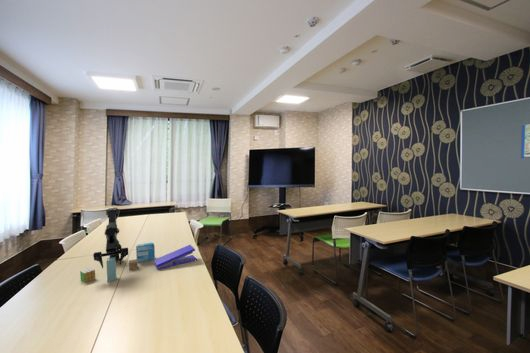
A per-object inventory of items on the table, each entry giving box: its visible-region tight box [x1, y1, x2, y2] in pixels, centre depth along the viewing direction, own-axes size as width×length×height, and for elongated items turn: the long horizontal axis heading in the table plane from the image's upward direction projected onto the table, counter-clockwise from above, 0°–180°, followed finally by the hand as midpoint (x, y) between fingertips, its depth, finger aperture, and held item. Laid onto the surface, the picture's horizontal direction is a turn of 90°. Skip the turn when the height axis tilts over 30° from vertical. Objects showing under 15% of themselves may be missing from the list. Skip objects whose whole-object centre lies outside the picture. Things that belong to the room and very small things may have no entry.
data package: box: [135, 242, 156, 263], centre depth 180 cm, size 12×4×12 cm, turn 120°
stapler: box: [153, 244, 198, 271], centre depth 175 cm, size 12×28×10 cm, turn 125°
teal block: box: [106, 257, 117, 282], centre depth 150 cm, size 4×4×13 cm
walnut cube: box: [128, 258, 139, 271], centre depth 166 cm, size 5×5×5 cm
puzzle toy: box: [79, 267, 96, 283], centre depth 150 cm, size 6×6×6 cm
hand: (111, 266), depth 150 cm, fingers open, 9 cm apart
